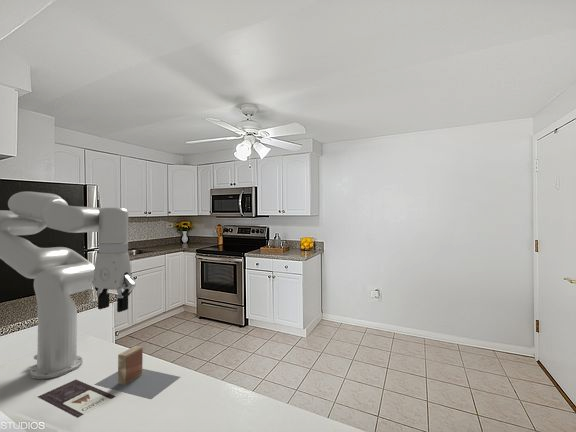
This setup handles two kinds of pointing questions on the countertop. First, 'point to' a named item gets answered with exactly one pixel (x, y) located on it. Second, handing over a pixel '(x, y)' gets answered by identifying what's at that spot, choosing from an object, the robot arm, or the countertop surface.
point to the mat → (141, 383)
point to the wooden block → (130, 364)
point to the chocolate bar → (76, 397)
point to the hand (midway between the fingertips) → (113, 308)
